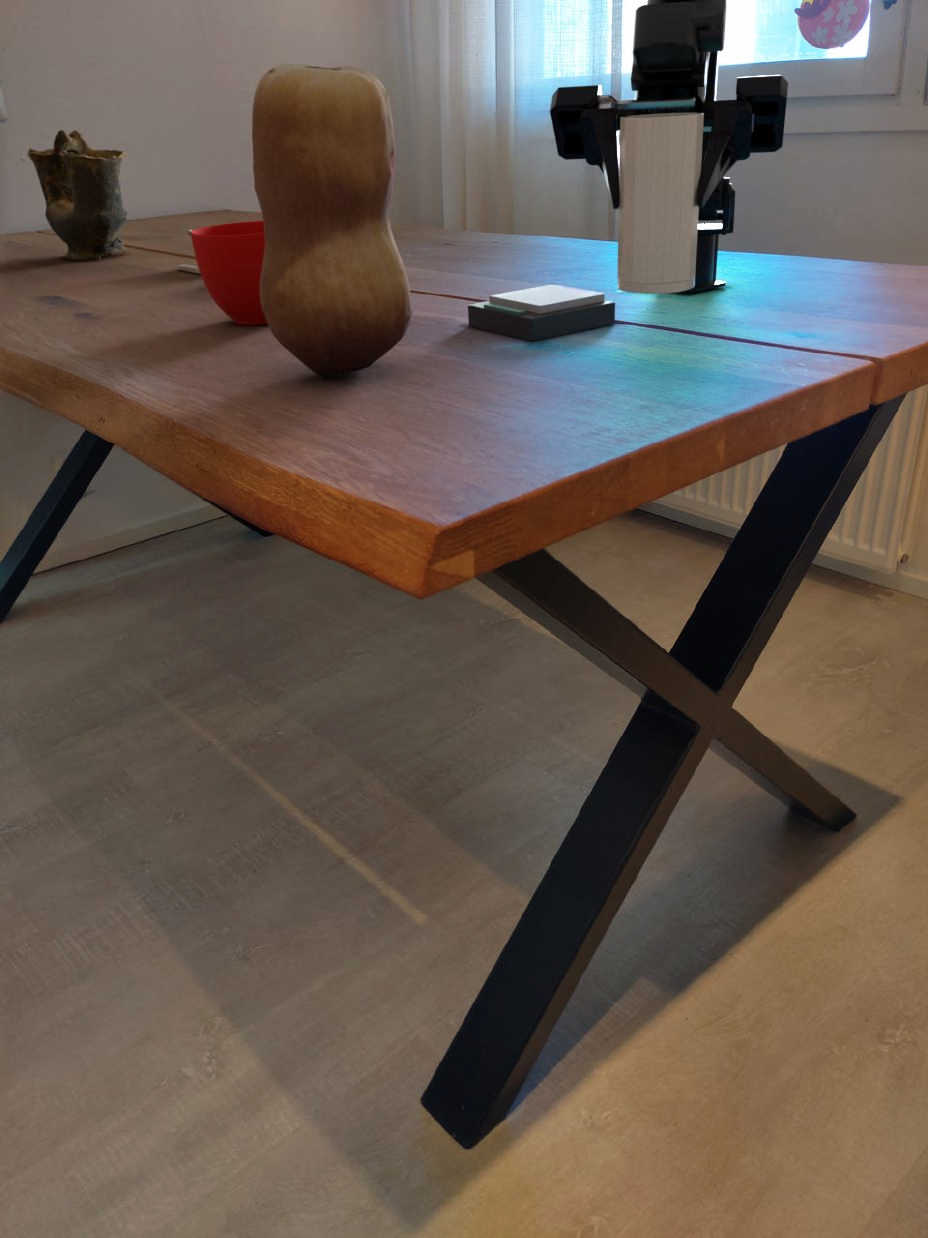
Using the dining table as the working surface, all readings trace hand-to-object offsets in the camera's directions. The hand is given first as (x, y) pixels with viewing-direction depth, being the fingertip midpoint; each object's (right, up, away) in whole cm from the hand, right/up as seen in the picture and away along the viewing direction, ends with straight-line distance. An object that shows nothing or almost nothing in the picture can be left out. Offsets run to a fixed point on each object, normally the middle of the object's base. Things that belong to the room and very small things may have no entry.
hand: (656, 204), depth 81 cm
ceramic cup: (-40, +2, +38) cm, 55 cm away
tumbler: (+1, -5, +4) cm, 7 cm away
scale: (-7, -2, +26) cm, 27 cm away
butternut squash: (-27, -11, +12) cm, 31 cm away
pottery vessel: (-80, +30, +94) cm, 127 cm away
